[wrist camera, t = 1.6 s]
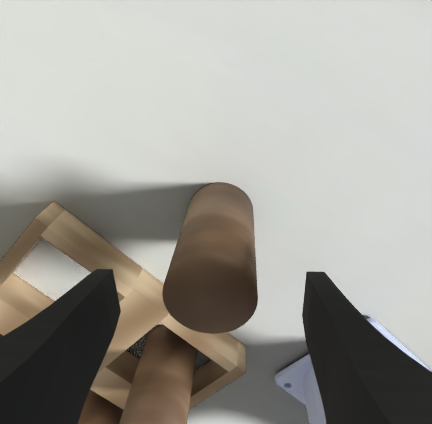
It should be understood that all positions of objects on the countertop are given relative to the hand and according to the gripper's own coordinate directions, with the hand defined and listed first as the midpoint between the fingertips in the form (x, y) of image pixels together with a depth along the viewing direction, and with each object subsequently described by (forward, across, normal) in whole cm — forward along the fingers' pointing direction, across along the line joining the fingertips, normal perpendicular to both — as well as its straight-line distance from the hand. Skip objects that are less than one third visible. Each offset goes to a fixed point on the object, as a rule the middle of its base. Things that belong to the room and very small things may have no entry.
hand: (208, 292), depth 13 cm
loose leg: (+7, 0, 0) cm, 7 cm away
